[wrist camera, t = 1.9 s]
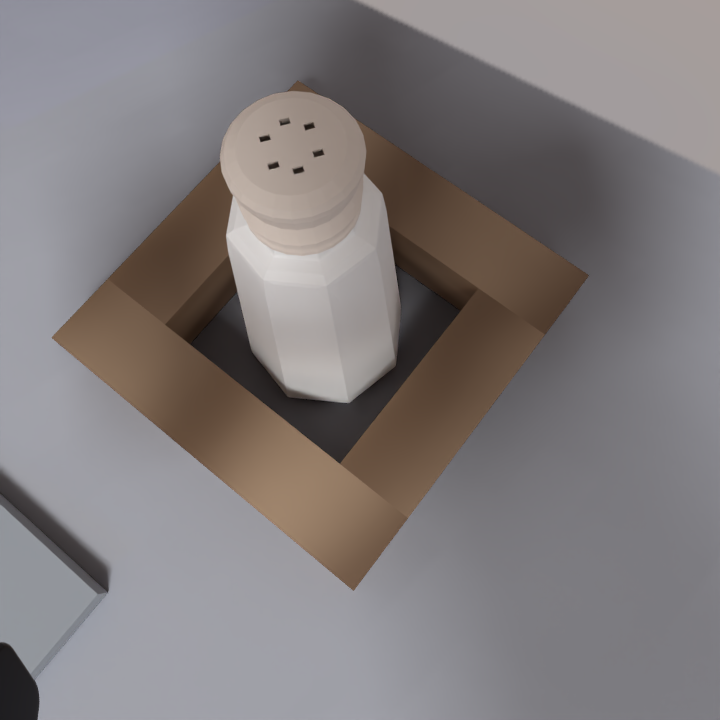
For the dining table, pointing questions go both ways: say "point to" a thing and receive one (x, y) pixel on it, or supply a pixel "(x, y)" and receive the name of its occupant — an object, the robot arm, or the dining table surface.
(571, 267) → the walnut collar
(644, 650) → the dining table surface
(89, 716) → the dining table surface
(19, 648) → the slate grey mat
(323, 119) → the pepper shaker
